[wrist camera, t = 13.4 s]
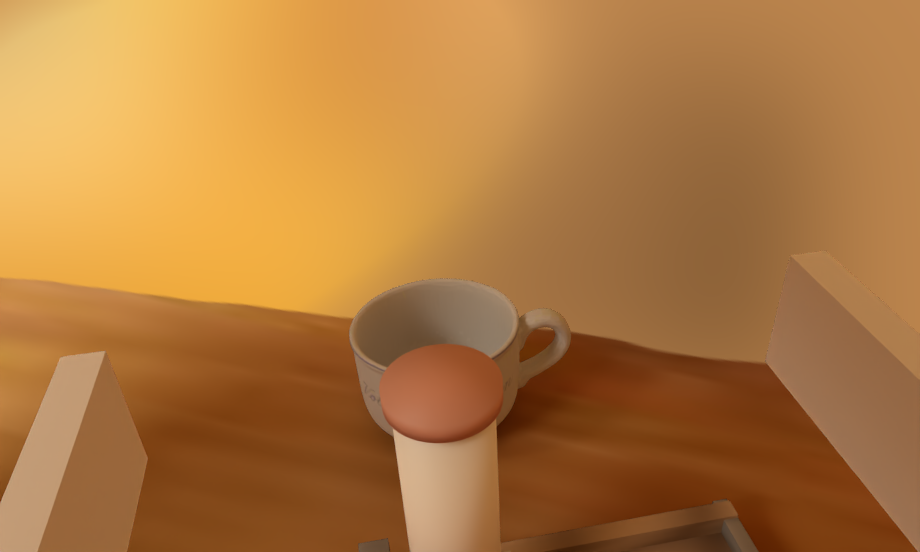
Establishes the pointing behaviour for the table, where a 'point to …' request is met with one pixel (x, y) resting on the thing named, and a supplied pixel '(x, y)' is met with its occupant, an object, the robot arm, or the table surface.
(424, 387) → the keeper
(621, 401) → the table surface
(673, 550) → the track
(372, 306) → the teacup
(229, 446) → the table surface
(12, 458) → the table surface
